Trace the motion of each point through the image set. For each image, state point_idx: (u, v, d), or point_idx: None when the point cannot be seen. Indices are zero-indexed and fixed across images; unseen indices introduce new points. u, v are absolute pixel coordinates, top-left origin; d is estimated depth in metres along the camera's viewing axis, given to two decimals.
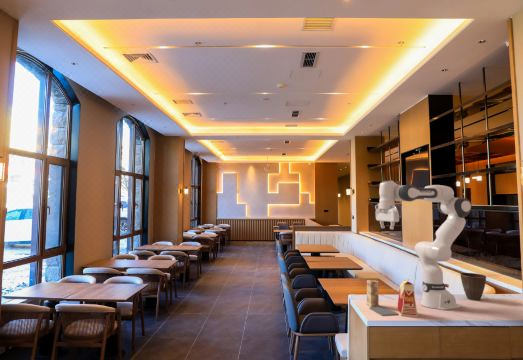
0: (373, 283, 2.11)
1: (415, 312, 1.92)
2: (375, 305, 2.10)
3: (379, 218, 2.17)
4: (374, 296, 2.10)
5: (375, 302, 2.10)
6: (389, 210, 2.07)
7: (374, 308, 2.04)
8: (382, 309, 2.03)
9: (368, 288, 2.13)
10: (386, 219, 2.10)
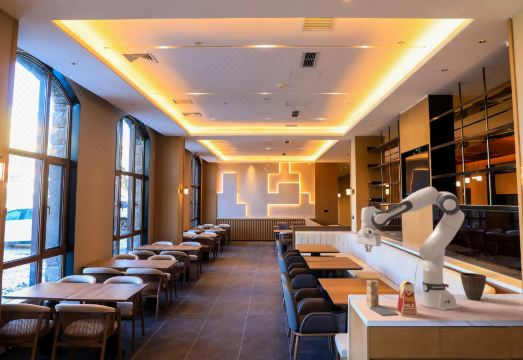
0: (373, 283, 2.11)
1: (415, 312, 1.92)
2: (375, 305, 2.10)
3: None
4: (374, 296, 2.10)
5: (375, 302, 2.10)
6: None
7: (374, 308, 2.04)
8: (382, 309, 2.03)
9: (368, 288, 2.13)
10: None
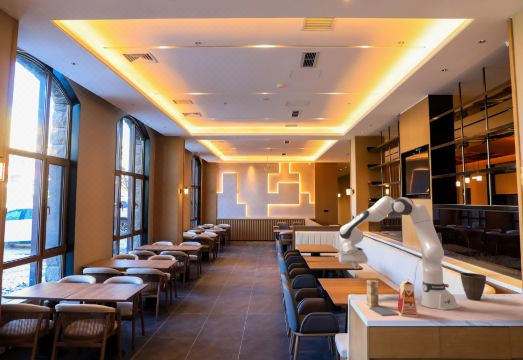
0: (373, 283, 2.11)
1: (415, 312, 1.92)
2: (375, 305, 2.10)
3: None
4: (374, 296, 2.10)
5: (375, 302, 2.10)
6: None
7: (374, 308, 2.04)
8: (382, 309, 2.03)
9: (368, 288, 2.13)
10: None
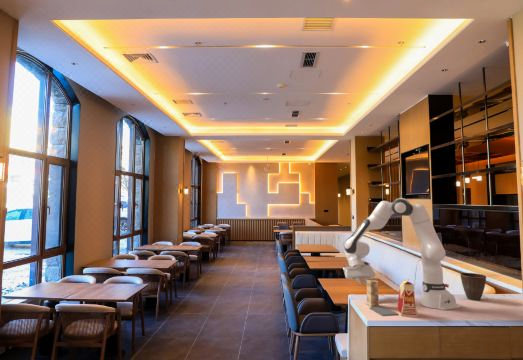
0: (373, 283, 2.11)
1: (415, 312, 1.92)
2: (375, 305, 2.10)
3: None
4: (374, 296, 2.10)
5: (375, 302, 2.10)
6: None
7: (374, 308, 2.04)
8: (382, 309, 2.03)
9: (368, 288, 2.13)
10: None
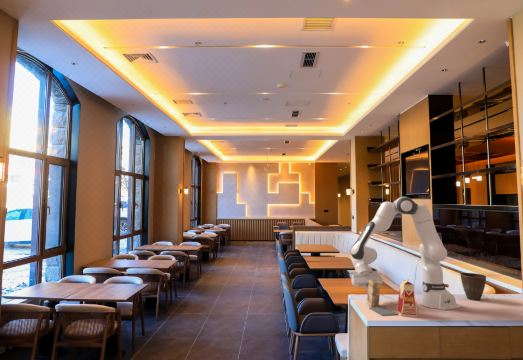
0: (375, 284, 2.08)
1: (415, 312, 1.92)
2: (375, 305, 2.10)
3: None
4: (375, 297, 2.09)
5: (375, 302, 2.10)
6: None
7: (374, 308, 2.04)
8: (382, 309, 2.03)
9: (370, 288, 2.11)
10: None
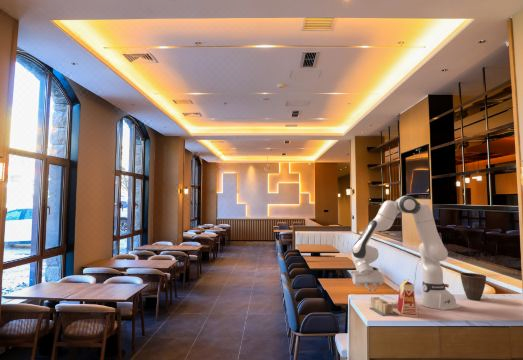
0: None
1: (415, 312, 1.92)
2: None
3: None
4: None
5: None
6: None
7: (374, 308, 2.04)
8: None
9: (380, 305, 1.99)
10: None
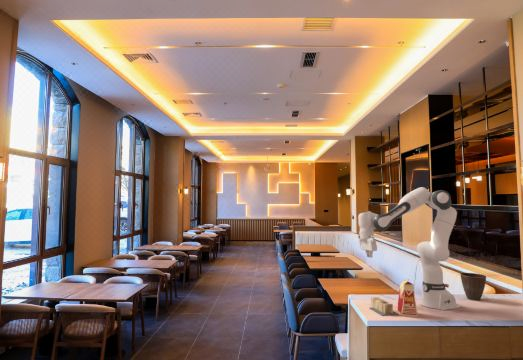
0: None
1: (415, 312, 1.92)
2: None
3: (362, 247, 2.31)
4: None
5: None
6: (368, 240, 2.21)
7: (374, 308, 2.04)
8: None
9: (380, 305, 1.99)
10: (366, 248, 2.24)
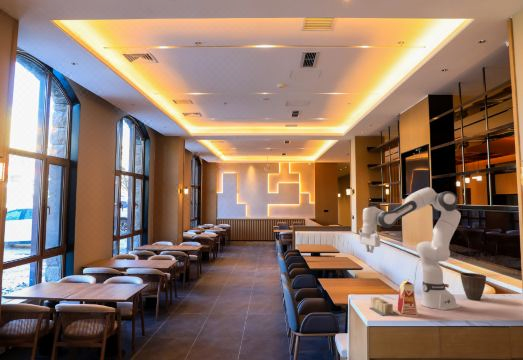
0: None
1: (415, 312, 1.92)
2: None
3: (363, 241, 2.31)
4: None
5: None
6: (371, 235, 2.20)
7: (374, 308, 2.04)
8: None
9: (380, 305, 1.99)
10: (368, 243, 2.23)
